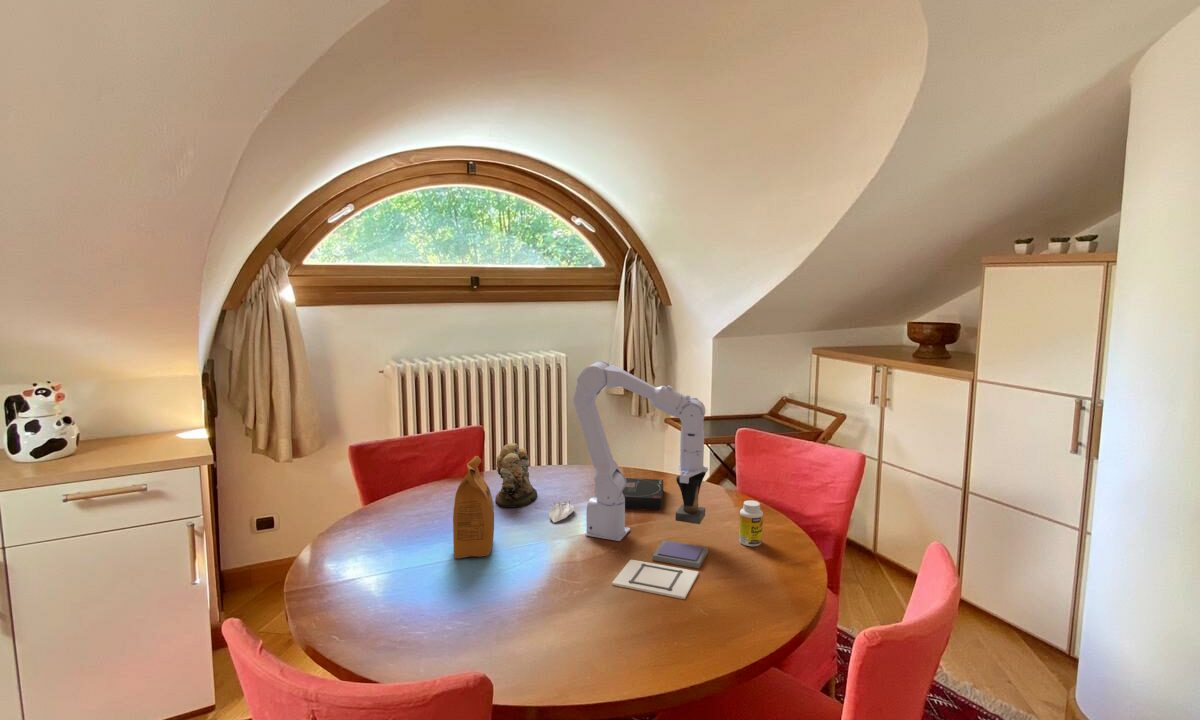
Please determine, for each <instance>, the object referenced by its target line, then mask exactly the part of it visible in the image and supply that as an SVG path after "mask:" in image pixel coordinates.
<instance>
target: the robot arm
mask: <svg viewBox="0 0 1200 720" xmlns="http://www.w3.org/2000/svg"><path fill="white" fill-rule="evenodd" d="M605 387H606V389H612V388H613V389H614V388H623V389H625V390H627V391H630V392H632V393H635V394H636V395H639V396H641V397H644V398H646V399H649V400H650V402H651V405H652V406H653V408H654V409H657V410H659V411H662V412H664V413H666V414H667V415H670V416H672V417H674V418H675V419H676V418H677V419H679V421H680V422H681V429H680V437H679V438H680V439H679V440H680V442H679V443H680V444H679V447H680V448H679V465H678V471H679V475H678V476H676V480H675V481H676V483H677V486H678V487H679V489H680V493H681V496H682V501H683V502H684V505H685V506H691V507H692V506H693V504H694V500H695V494H696V490H697V487H699V489H698V496H699V495H700V491H701V485H702V483H703V481H704V478H705V476H706V475H707V472H709V467H707V466H704V453H705V451H704V449H705V430H704V428H705V424H704V420H705V415H706V406H705V405H704V403H703V401H701V400H699V399H698V398H696V397H691V395H688V394H686V395H684V394H682V393H680V392H677V391H676V390H674V389H673V388H674V387H673V386H671V385H669V384H668V385H667V386H665V385H660V386H658V387H657V386H654V385H653V384H650V383H648V382H647V381H645V380H643V379H641V378H639V377H637V376H635V375H633V374H631V373H629V372H628V371H626V370H624V369H622V368H621V367H619V366H616V365H613V364H609V362H606V361H604V360H600V361H599V360H598V361H596V362H594V363H592V364H591V365H588V366H586V367H585V368H583V370H582V371H581V372H580V374H579V375H578V376H577V378H576V387H575V391H574V396H573V400H572V401H573V405H574V408H575V411H576V413H577V414H576V415H577V417H578V418H577V419H578V422H579V424H580V427H581V430H582V433H583V436H584V439H585V443H586V445H587V448H588V453H589V455H590V458H591V461H592V464H593V468H594V469H593V470H594V471H593V480H594V484H595V488H594V494H595V496H593V497H590V498H589V500H588V502H587V505H586V513H585V514H586V532H585V534H584V535H585V536H586V537H593V538H599V539H604V540H610V541H617V542H620V541H622V540H623V538H624V537H625V536H626V535H627V534H628V533H629V532H630V530H631V528H630V527H625V526H626V523H625V521H626V509H625V497H624V495H623V493H622V491H623V489H624V488H625V486H626V478H627V477H626V476H625V474H624V472H622V471H621V470H620V467H619V465H618V463H617V462H616V461H615V460H614V457H613V455H612V452H611V448H610V445H609V442H608V439H607V435H606V431H605V429H604V425H603V424H602V420H601V417H600V414H599V410H598V408H597V404H596V400H597V399H598V397H599V395H600V393H601V391H602V390H603V389H605Z"/></svg>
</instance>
